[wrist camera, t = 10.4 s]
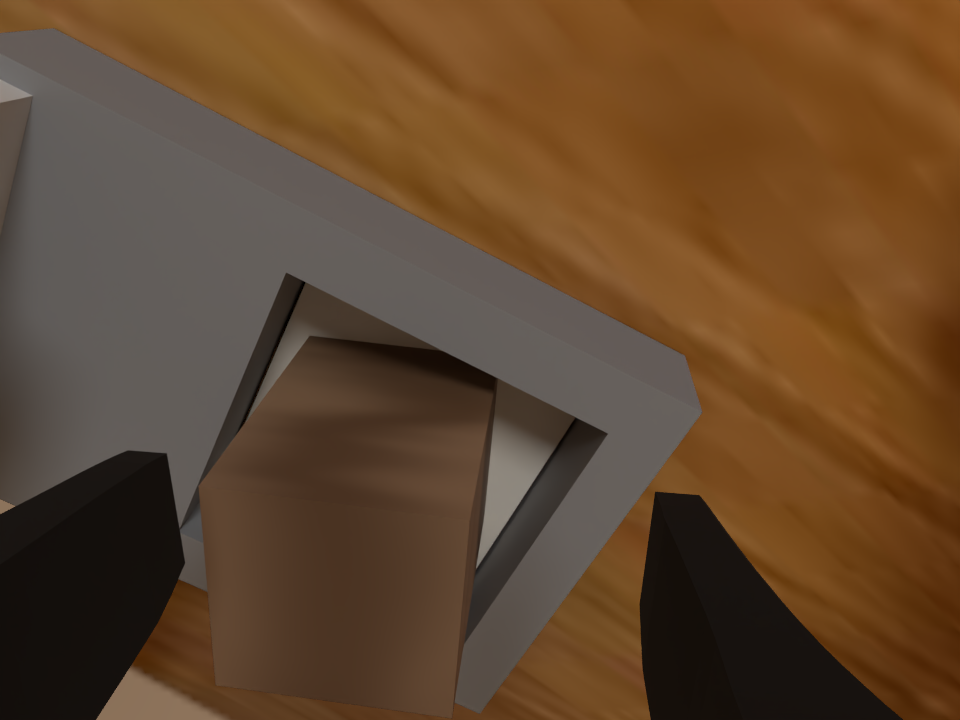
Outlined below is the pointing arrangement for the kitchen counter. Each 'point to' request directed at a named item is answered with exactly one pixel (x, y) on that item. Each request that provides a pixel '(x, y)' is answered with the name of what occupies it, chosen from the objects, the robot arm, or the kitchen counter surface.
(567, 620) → the kitchen counter surface
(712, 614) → the robot arm
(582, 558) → the socket block
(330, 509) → the walnut peg
